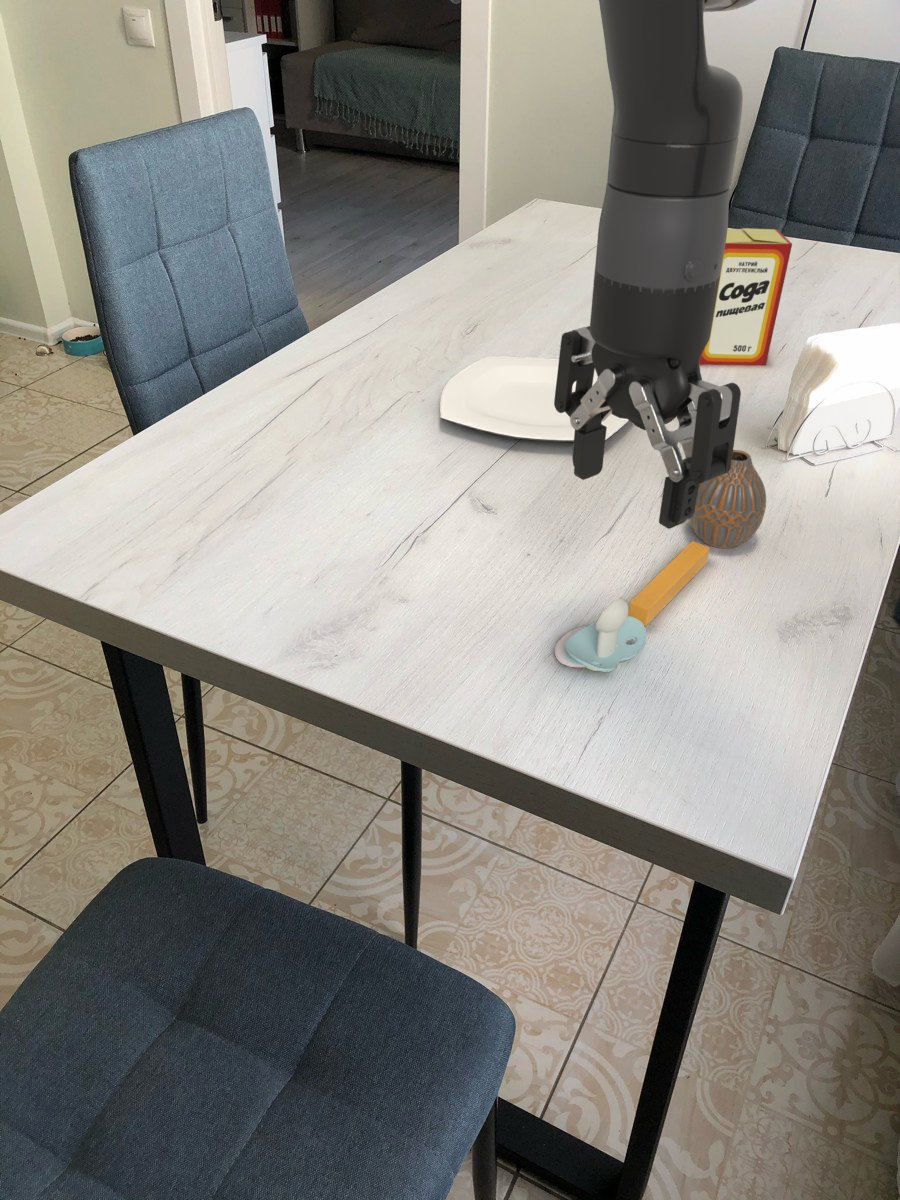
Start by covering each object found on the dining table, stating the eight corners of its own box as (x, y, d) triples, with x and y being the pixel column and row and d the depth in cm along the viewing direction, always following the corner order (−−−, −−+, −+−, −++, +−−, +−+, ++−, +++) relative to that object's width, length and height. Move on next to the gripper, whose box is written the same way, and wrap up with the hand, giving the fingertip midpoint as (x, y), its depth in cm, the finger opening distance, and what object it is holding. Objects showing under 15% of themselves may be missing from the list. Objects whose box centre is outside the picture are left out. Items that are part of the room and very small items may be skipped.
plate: (619, 467, 101) (621, 450, 100) (416, 437, 107) (416, 421, 105) (647, 384, 119) (649, 369, 118) (472, 362, 124) (472, 348, 123)
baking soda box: (694, 364, 125) (715, 239, 115) (684, 346, 130) (704, 225, 120) (765, 365, 125) (792, 240, 115) (753, 346, 130) (778, 226, 120)
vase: (763, 528, 91) (782, 447, 86) (749, 564, 86) (769, 480, 81) (692, 512, 94) (707, 432, 89) (675, 546, 89) (690, 463, 83)
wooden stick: (688, 556, 87) (691, 540, 86) (706, 563, 86) (710, 547, 85) (626, 618, 79) (629, 601, 78) (645, 626, 79) (648, 609, 78)
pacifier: (537, 658, 75) (594, 693, 72) (540, 594, 72) (601, 628, 68) (596, 621, 79) (653, 652, 76) (602, 558, 76) (662, 588, 72)
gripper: (794, 282, 54) (742, 524, 63) (620, 229, 63) (598, 447, 73) (704, 307, 50) (664, 560, 60) (534, 247, 60) (523, 474, 69)
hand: (628, 498), depth 66 cm, fingers open, 8 cm apart
